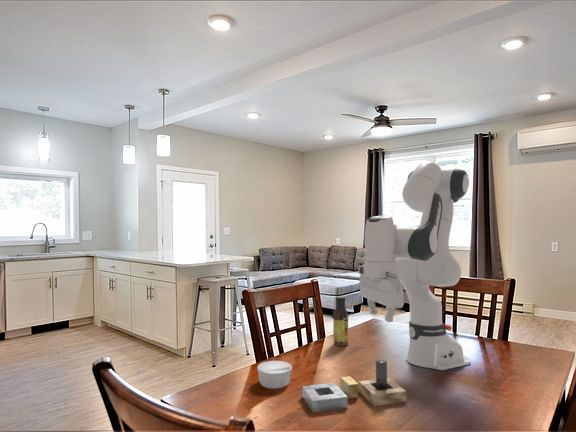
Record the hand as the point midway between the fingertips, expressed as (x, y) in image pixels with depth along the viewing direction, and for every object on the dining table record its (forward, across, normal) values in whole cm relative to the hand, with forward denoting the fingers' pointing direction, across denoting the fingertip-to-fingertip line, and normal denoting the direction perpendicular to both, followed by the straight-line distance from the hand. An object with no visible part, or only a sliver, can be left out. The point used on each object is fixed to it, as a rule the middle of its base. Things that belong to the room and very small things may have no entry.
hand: (380, 317), depth 115 cm
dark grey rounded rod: (+23, 0, 0) cm, 23 cm away
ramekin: (+23, +18, +28) cm, 41 cm away
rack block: (+23, 0, 0) cm, 23 cm away
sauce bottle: (+23, +50, -8) cm, 56 cm away
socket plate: (+23, +1, +18) cm, 29 cm away
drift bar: (+23, +4, +9) cm, 25 cm away
